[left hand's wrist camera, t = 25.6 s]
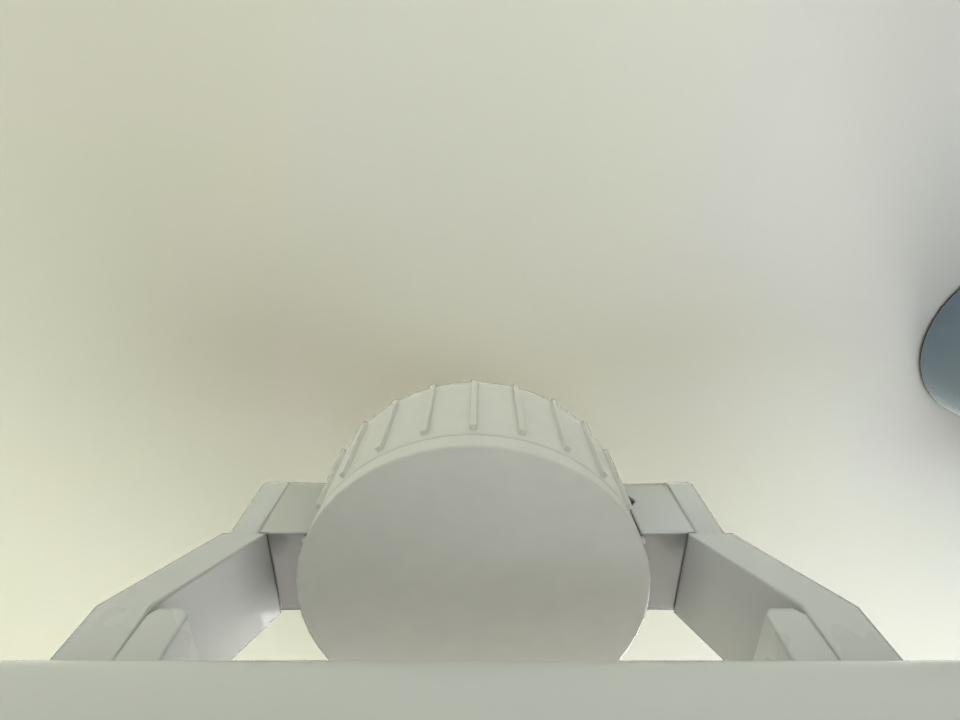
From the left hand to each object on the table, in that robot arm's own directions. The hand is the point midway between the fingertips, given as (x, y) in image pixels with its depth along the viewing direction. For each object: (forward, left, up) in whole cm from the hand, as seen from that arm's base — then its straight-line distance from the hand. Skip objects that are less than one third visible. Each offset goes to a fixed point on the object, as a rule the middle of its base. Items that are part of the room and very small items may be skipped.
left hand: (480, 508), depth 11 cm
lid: (0, 0, +2) cm, 2 cm away
